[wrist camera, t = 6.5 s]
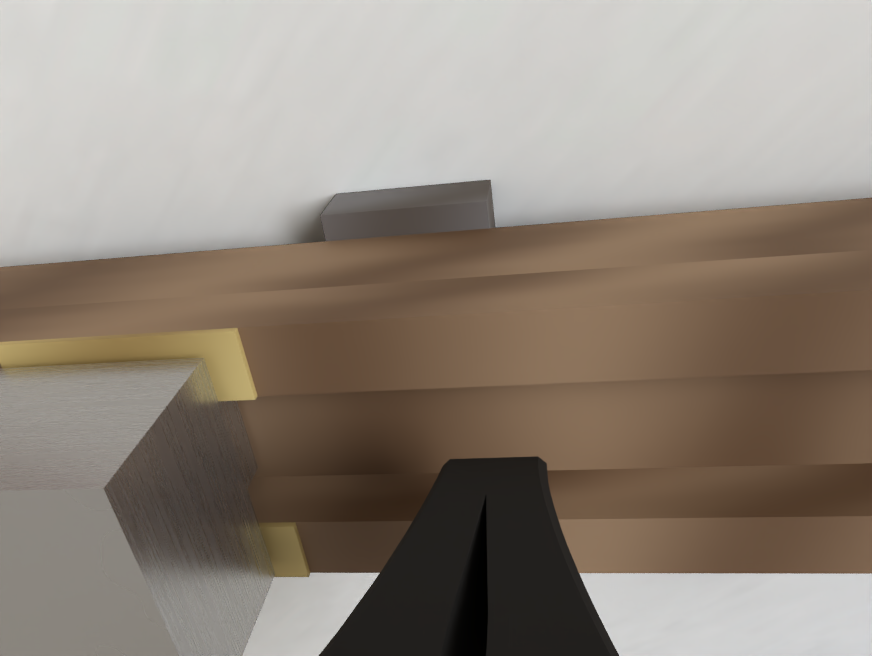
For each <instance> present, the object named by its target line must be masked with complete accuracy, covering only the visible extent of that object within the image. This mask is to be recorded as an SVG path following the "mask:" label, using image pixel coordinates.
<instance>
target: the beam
mask: <svg viewBox="0 0 872 656" xmlns="http://www.w3.org/2000/svg"><path fill="white" fill-rule="evenodd" d="M320 217H321V221H322V226H323V230H324V235H325V240H326V241H324V242H312V243H299V244H287V245H274V246H262V247H249V248H237V249H224V250H212V251H199V252H186V253H174V254H161V255H149V256H136V257H124V258H111V259H99V260H86V261H74V262H61V263H49V264H36V265H23V266H11V267H0V368H19V367H38V366H57V365H76V364H95V363H114V362H133V361H152V360H171V359H190V358H204V360H205V363H206V366H207V369H208V372H209V375H210V378H211V381H212V384H213V387H214V390H215V393H216V396H217V399H218V401H237V402H238V406H239V409H240V412H241V415H242V418H243V421H244V425H245V428H246V431H247V434H248V437H249V440H250V444H251V447H252V450H253V453H254V456H255V459H256V463H257V466H258V469H257V471H256V473H255V475H254V477H253V479H252V481H251V483H250V485H249V487H248V489H247V490H248V493H249V496H250V499H251V502H252V505H253V508H254V511H255V514H256V517H257V520H258V523H259V526H260V529H261V532H262V535H263V538H264V541H265V544H266V547H267V550H268V553H269V556H270V559H271V562H272V565H273V568H274V571H275V576H274V577H309V575H310V572H320V573H380V572H381V571H382V569H383V568H384V566H385V565H386V563H387V561H388V560H389V558H390V557H391V555H392V554H393V552H394V550H395V549H396V547H397V546H398V544H399V543H400V541H401V540H402V538H403V536H404V535H405V533H406V532H407V530H408V528H409V527H410V525H411V523H412V522H413V520H414V518H415V517H416V515H417V513H418V511H419V510H420V508H421V506H422V504H423V503H424V501H425V499H426V497H427V496H428V494H429V492H430V490H431V488H432V486H433V484H434V482H435V481H436V479H437V477H438V475H439V473H440V471H441V469H442V467H443V465H444V464H445V463H446V462H447V461H448V460H449V459H468V458H501V457H535V456H538V457H539V458H541V459H542V460H543V461H545V462H546V463H547V472H548V483H549V488H550V492H551V497H552V500H553V504H554V508H555V511H556V514H557V517H558V520H559V523H560V526H561V529H562V532H563V535H564V537H565V540H566V543H567V546H568V548H569V550H570V553H571V555H572V558H573V560H574V562H575V565H576V567H577V569H578V572H579V573H872V198H864V199H851V200H839V201H826V202H814V203H801V204H788V205H776V206H763V207H751V208H738V209H726V210H713V211H701V212H688V213H676V214H663V215H651V216H638V217H625V218H613V219H600V220H588V221H575V222H563V223H550V224H538V225H525V226H513V227H500V228H495V220H494V210H493V200H492V190H491V180H483V181H472V182H461V183H450V184H439V185H428V186H417V187H406V188H395V189H384V190H373V191H362V192H351V193H340V194H336V195H335V196H334V198H333V199H332V200H331V202H330V203H329V204H328V206H327V207H326V208H325V210H324V211H323V212H322V214H321V215H320Z"/></svg>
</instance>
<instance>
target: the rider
mask: <svg viewBox="0 0 872 656" xmlns="http://www.w3.org/2000/svg"><path fill="white" fill-rule="evenodd" d="M257 469H258V466H257V463H256V459H255V456H254V453H253V450H252V447H251V444H250V440H249V437H248V434H247V431H246V428H245V425H244V421H243V418H242V415H241V412H240V409H239V406H238V402H237V401H218V399H217V396H216V393H215V390H214V387H213V384H212V381H211V378H210V375H209V372H208V369H207V366H206V363H205V360H204V358H190V359H171V360H152V361H133V362H114V363H95V364H76V365H57V366H38V367H19V368H0V656H242V655H243V652H244V650H245V647H246V645H247V642H248V640H249V638H250V635H251V633H252V630H253V628H254V625H255V623H256V620H257V618H258V615H259V613H260V610H261V608H262V605H263V603H264V600H265V598H266V595H267V593H268V590H269V588H270V585H271V583H272V581H273V578H274V576H275V571H274V568H273V565H272V562H271V559H270V556H269V553H268V550H267V547H266V544H265V541H264V538H263V535H262V532H261V529H260V526H259V523H258V520H257V517H256V514H255V511H254V508H253V505H252V502H251V499H250V496H249V493H248V490H247V489H248V487H249V485H250V483H251V481H252V479H253V477H254V475H255V473H256V471H257Z"/></svg>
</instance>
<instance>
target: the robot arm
mask: <svg viewBox="0 0 872 656" xmlns="http://www.w3.org/2000/svg"><path fill="white" fill-rule="evenodd" d="M319 656H619V654H618V653H617V651H616V649H615V647H614V645H613V643H612V641H611V639H610V637H609V635H608V633H607V631H606V629H605V627H604V625H603V623H602V621H601V619H600V617H599V615H598V613H597V611H596V609H595V607H594V605H593V603H592V601H591V599H590V597H589V595H588V592H587V590H586V588H585V586H584V584H583V581H582V579H581V577H580V574H579V572H578V569H577V567H576V565H575V562H574V560H573V558H572V555H571V553H570V550H569V548H568V546H567V543H566V540H565V537H564V535H563V532H562V529H561V526H560V523H559V520H558V517H557V514H556V511H555V508H554V504H553V500H552V497H551V492H550V488H549V483H548V472H547V463H546V462H545V461H543V460H542V459H541V458H539V457H538V456H535V457H501V458H468V459H449V460H448V461H447V462H446V463H445V464H444V465H443V467H442V469H441V471H440V473H439V475H438V477H437V479H436V481H435V482H434V484H433V486H432V488H431V490H430V492H429V494H428V496H427V497H426V499H425V501H424V503H423V504H422V506H421V508H420V510H419V511H418V513H417V515H416V517H415V518H414V520H413V522H412V523H411V525H410V527H409V528H408V530H407V532H406V533H405V535H404V536H403V538H402V540H401V541H400V543H399V544H398V546H397V547H396V549H395V550H394V552H393V554H392V555H391V557H390V558H389V560H388V561H387V563H386V565H385V566H384V568H383V569H382V571H381V572H380V574H379V575H378V577H377V578H376V580H375V581H374V583H373V584H372V585H371V587H370V588H369V589H368V591H367V592H366V594H365V595H364V596H363V598H362V599H361V601H360V602H359V603H358V605H357V606H356V607H355V609H354V610H353V612H352V613H351V614H350V616H349V617H348V618H347V620H346V621H345V623H344V624H343V625H342V627H341V628H340V629H339V631H338V632H337V633H336V635H335V636H334V637H333V638H332V640H331V641H330V642H329V644H328V645H327V646H326V647H325V649H324V650H323V651H322V652H321V654H320V655H319Z"/></svg>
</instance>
